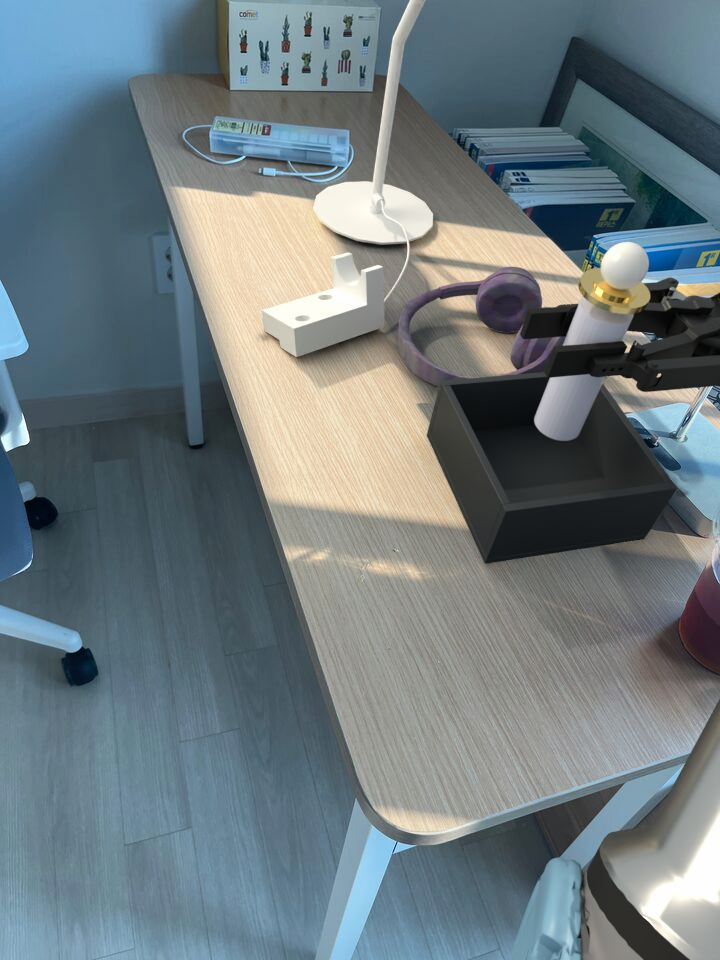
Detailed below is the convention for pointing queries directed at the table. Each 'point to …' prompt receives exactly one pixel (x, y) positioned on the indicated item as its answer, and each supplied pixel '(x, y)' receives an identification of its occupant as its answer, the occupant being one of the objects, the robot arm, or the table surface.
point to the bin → (542, 470)
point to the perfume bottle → (595, 335)
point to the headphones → (486, 321)
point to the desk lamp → (379, 178)
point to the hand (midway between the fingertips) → (538, 342)
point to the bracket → (330, 310)
